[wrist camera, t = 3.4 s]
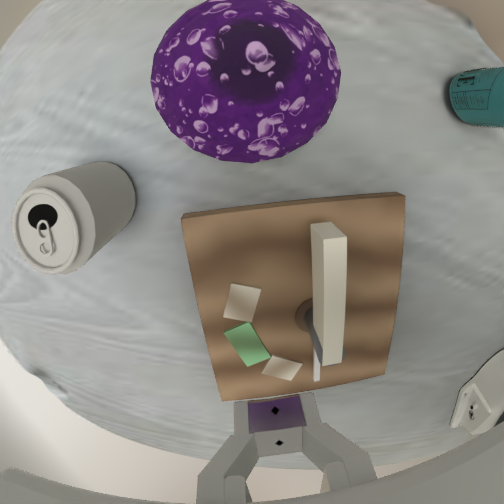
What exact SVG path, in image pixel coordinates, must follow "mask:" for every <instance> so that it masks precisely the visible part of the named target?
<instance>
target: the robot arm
mask: <svg viewBox="0 0 504 504" xmlns="http://www.w3.org/2000/svg"><path fill="white" fill-rule="evenodd" d="M460 426H463V427H464V428H465V430H466V431H467V432H468V433H469V434H472V435H476V434H481V435H480V436H478V437H476V438H474V439H472V440H470V441H468V442H466V443H465V444H463V445H461V446H459V447H457V448H455V449H452V450H450V451H448V452H446V453H444V454H442V455H440V456H437V457H435V458H433V459H430V460H428V461H426V462H423V463H421V464H418V465H416V466H413V467H411V468H408V469H405V470H403V471H400V472H397V473H394V474H391V475H388V476H385V477H382V478H379V479H377V476H376V473H375V471H374V468H373V465H372V462H371V460H370V457H369V454H368V452H366V451H365V450H363V449H362V448H360V447H359V446H357V445H356V444H354V443H353V442H352V441H350V440H349V439H347V438H346V437H344V436H343V435H342V434H340V433H339V432H337V431H336V430H335V429H333V428H332V427H331V426H329V425H328V424H327V423H321V419H320V416H319V412H318V409H317V405H316V402H315V398H314V395H313V393H312V392H309V393H303V394H295V395H289V396H283V397H276V398H271V399H261V400H250V401H238V402H234V435H230V437H229V438H228V439H227V440H226V442H225V443H224V444H223V446H222V447H221V448H220V449H219V451H218V452H217V453H216V454H215V456H214V457H213V458H212V459H211V461H210V462H209V463H208V464H207V466H206V467H205V468H204V469H203V470H202V471H201V473H200V474H199V475H198V484H197V499H196V504H504V350H502V351H500V352H499V353H497V354H496V355H495V356H493V357H492V358H491V359H490V360H489V361H488V362H487V363H486V364H485V365H484V366H483V367H482V368H481V369H480V370H479V372H478V373H477V374H476V375H475V376H474V377H473V378H472V379H471V380H470V381H469V382H468V383H466V384H465V385H464V386H463V387H462V388H461V390H460V392H459V396H458V399H457V403H456V406H455V410H454V413H453V416H452V419H451V422H450V427H451V428H457V427H460ZM295 452H302V453H303V454H304V455H305V456H307V457H308V458H309V459H310V460H311V461H312V462H313V463H314V464H315V465H316V466H317V467H318V468H319V469H320V470H321V471H322V472H323V473H324V475H323V480H322V485H321V491H320V492H321V493H320V494H314V495H309V496H302V497H296V498H289V499H282V500H274V501H264V502H252V499H251V496H250V493H249V490H248V487H247V484H246V479H247V478H248V476H249V474H250V473H251V471H252V469H253V468H254V466H255V464H256V463H257V461H258V459H259V457H265V456H272V455H279V454H287V453H295ZM0 504H185V503H168V502H156V501H147V500H139V499H132V498H125V497H118V496H113V495H107V494H103V493H98V492H93V491H89V490H84V489H80V488H76V487H72V486H69V485H65V484H62V483H58V482H55V481H52V480H48V479H45V478H42V477H39V476H36V475H34V474H31V473H28V472H25V471H23V470H20V469H18V468H14V467H10V468H7V469H5V470H3V471H1V472H0Z"/></svg>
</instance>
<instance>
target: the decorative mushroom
mask: <svg viewBox="0 0 504 504" xmlns="http://www.w3.org/2000/svg"><path fill="white" fill-rule="evenodd" d="M340 76H341V70H340V66H339V62H338V58H337V54H336V51H335V47H334V45H333V44H332V42H331V40H330V39H329V37H328V36H327V34H326V33H325V31H324V30H323V28H322V27H321V25H320V24H319V23H318V22H317V21H316V20H314V19H313V18H312V17H311V16H309V15H308V14H307V13H306V12H304V11H303V10H302V9H301V8H299V7H298V6H296V5H294V4H291V3H289V2H286V1H284V0H207V1H205V2H203V3H201V4H199V5H197V6H195V7H193V8H191V9H189V10H187V11H186V12H185V13H184V14H183V15H182V16H181V17H180V18H179V19H178V20H177V21H176V22H175V23H174V24H173V25H172V26H171V27H170V28H169V29H168V30H167V31H166V33H165V35H164V36H163V38H162V40H161V42H160V44H159V46H158V48H157V50H156V52H155V54H154V59H153V66H152V74H151V87H152V91H153V96H154V101H155V105H156V109H157V110H158V112H159V113H160V115H161V117H162V118H163V120H164V121H165V123H166V125H167V126H168V128H169V129H170V131H171V132H172V133H173V134H175V135H176V136H177V137H178V138H180V139H181V140H182V141H183V142H185V143H186V144H187V145H188V146H190V147H191V148H192V149H193V150H195V151H198V152H201V153H203V154H206V155H208V156H211V157H214V158H216V159H219V160H221V161H233V162H245V163H255V162H259V161H264V160H269V159H274V158H279V157H282V156H284V155H286V154H288V153H289V152H291V151H293V150H295V149H297V148H299V147H300V146H302V145H304V144H306V143H307V142H308V141H309V140H310V139H311V138H312V137H313V136H314V135H315V134H316V133H317V132H318V131H319V130H320V129H321V128H322V127H323V126H324V125H325V124H326V122H327V120H328V118H329V116H330V114H331V111H332V109H333V107H334V105H335V103H336V101H337V98H338V92H339V84H340Z"/></svg>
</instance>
